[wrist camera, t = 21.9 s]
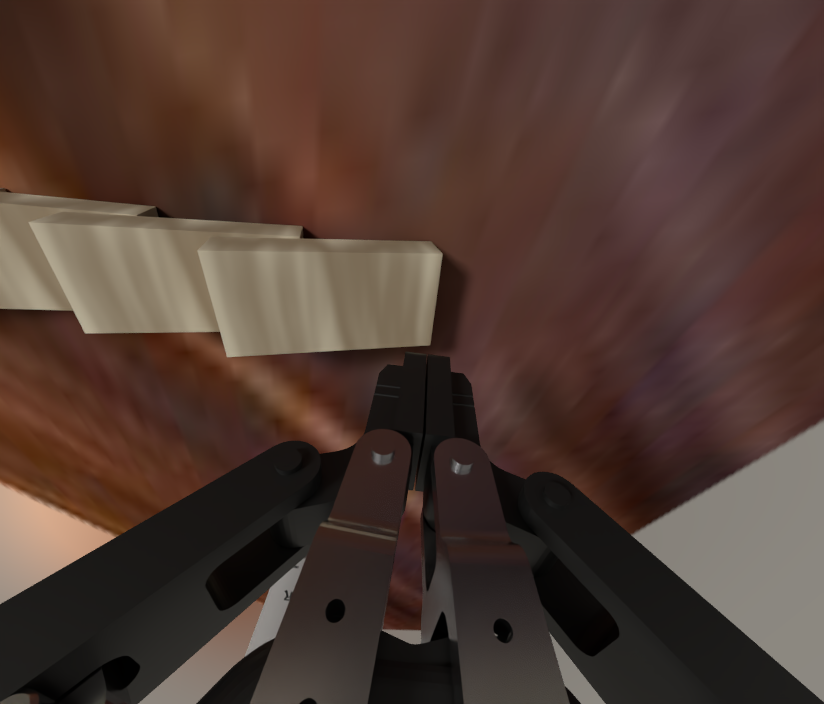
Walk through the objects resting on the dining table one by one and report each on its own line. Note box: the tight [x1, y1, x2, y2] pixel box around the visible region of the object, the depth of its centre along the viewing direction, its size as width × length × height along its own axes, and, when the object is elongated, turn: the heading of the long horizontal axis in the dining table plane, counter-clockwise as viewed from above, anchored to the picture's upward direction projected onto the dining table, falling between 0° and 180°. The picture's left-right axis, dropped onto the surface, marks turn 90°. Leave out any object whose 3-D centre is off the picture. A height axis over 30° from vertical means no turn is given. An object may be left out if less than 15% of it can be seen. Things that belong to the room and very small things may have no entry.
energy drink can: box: [245, 556, 307, 656], centre depth 30 cm, size 6×6×15 cm
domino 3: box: [198, 237, 443, 357], centre depth 16 cm, size 2×5×10 cm
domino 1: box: [0, 192, 158, 311], centre depth 16 cm, size 2×5×10 cm
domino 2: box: [28, 212, 303, 333], centre depth 16 cm, size 2×5×10 cm
